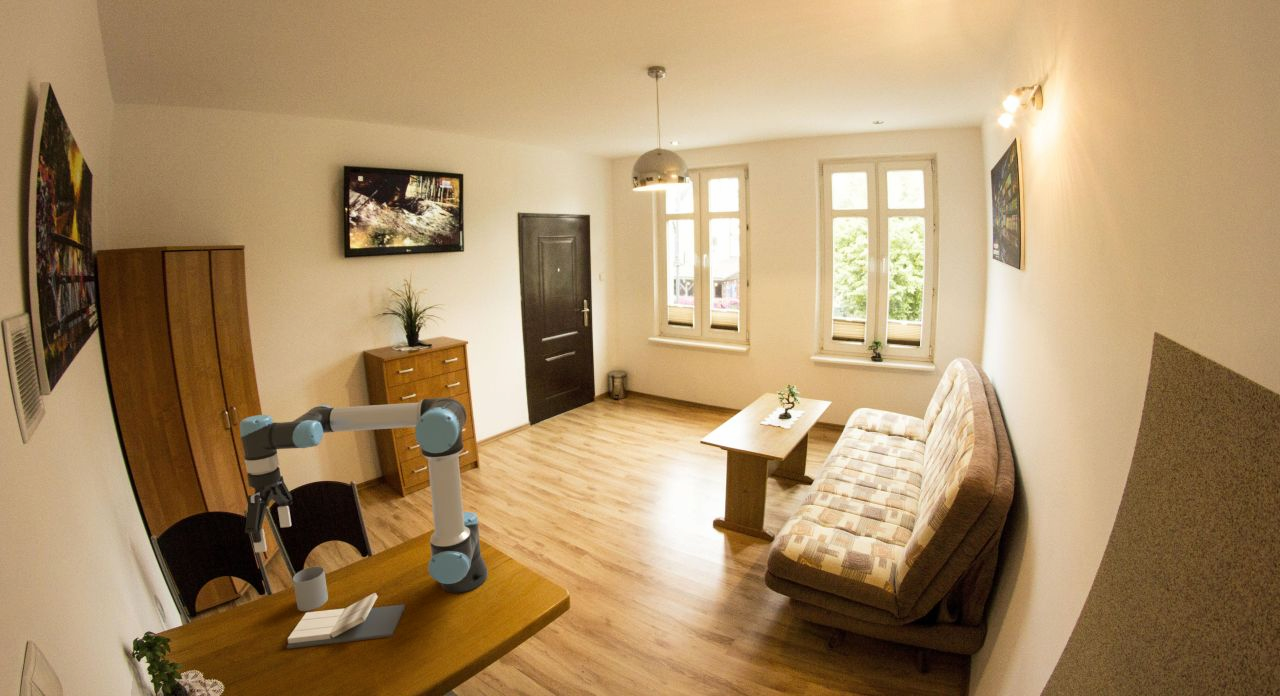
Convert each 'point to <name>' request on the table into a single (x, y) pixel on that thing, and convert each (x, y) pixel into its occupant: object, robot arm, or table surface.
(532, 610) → the table surface
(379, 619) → the floor section
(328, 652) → the table surface
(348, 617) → the loose plank
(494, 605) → the table surface
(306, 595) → the cup
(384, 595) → the table surface
